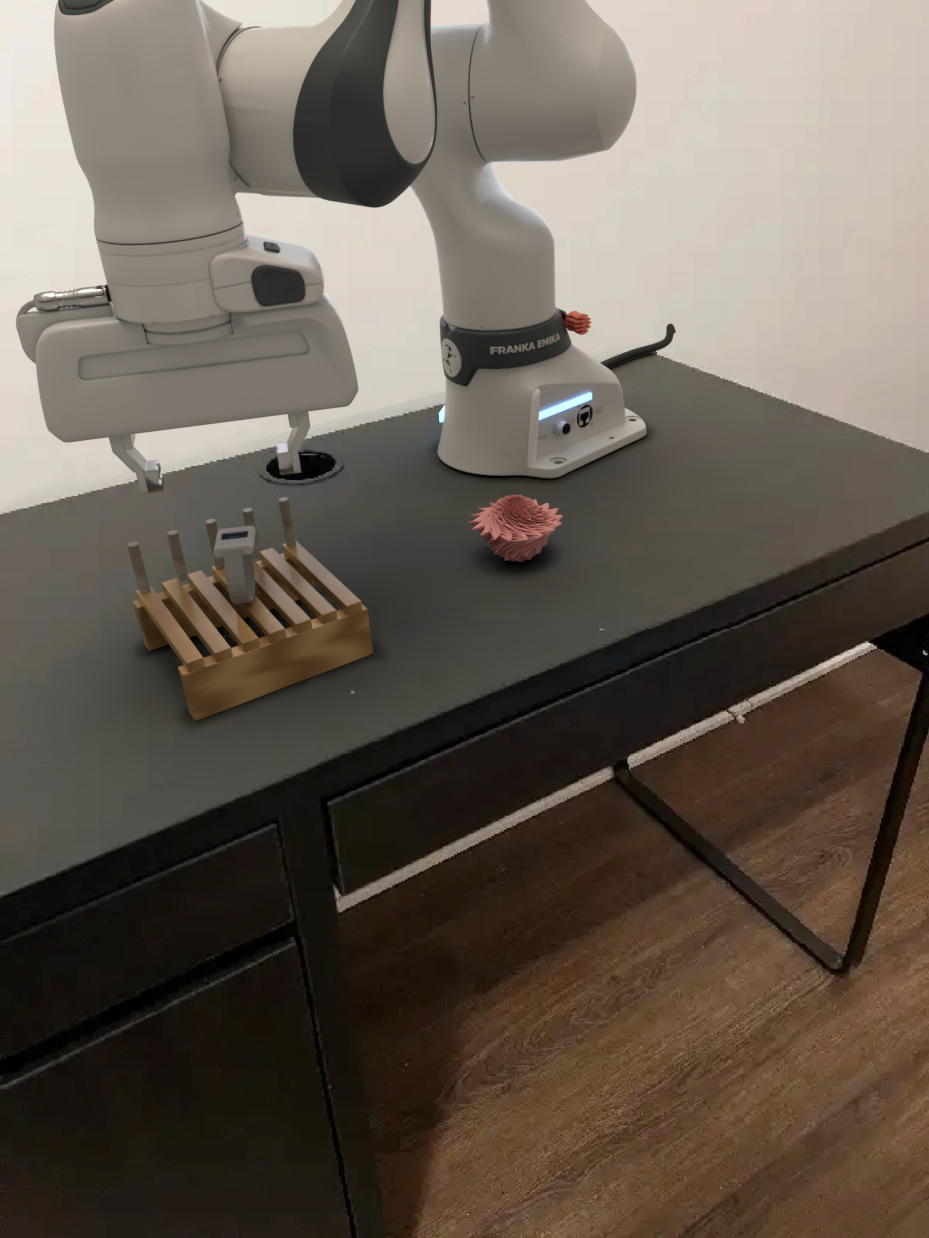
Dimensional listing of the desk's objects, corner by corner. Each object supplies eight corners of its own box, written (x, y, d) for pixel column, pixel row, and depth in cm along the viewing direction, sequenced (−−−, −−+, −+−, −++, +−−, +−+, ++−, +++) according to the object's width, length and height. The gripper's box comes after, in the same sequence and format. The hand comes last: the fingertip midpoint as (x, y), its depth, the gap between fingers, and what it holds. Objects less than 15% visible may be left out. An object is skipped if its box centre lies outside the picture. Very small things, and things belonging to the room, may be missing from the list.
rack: (308, 589, 86) (292, 493, 81) (373, 654, 77) (360, 550, 73) (144, 644, 80) (117, 545, 76) (195, 721, 71) (167, 614, 67)
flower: (454, 568, 87) (450, 509, 84) (496, 528, 93) (493, 471, 90) (539, 586, 84) (537, 525, 81) (577, 543, 90) (577, 485, 87)
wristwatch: (263, 616, 73) (251, 555, 71) (224, 621, 73) (210, 559, 71) (267, 574, 79) (256, 516, 76) (230, 578, 79) (218, 519, 76)
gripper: (-3, 309, 60) (62, 521, 67) (346, 270, 63) (371, 478, 70) (15, 283, 65) (74, 482, 73) (337, 248, 68) (361, 444, 75)
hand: (222, 480), depth 71 cm, fingers open, 8 cm apart
